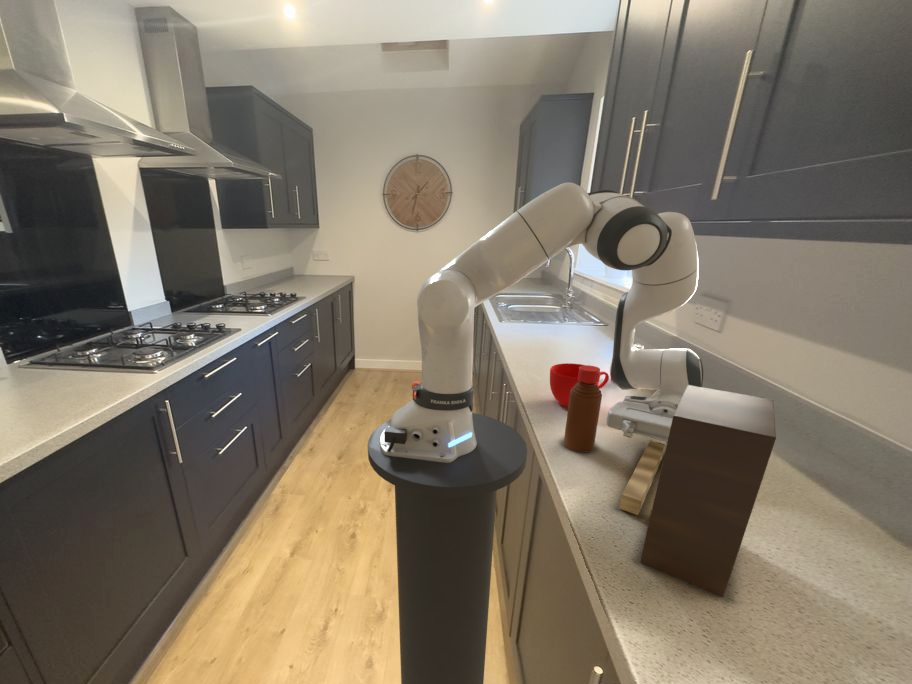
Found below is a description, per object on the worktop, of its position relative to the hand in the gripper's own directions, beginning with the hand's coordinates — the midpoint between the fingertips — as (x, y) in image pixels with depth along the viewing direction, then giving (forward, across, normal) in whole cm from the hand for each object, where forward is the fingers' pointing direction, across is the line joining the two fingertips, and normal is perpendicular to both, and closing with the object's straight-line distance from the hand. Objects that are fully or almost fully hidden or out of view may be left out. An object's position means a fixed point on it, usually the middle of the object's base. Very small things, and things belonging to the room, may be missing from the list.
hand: (653, 440), depth 81 cm
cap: (-3, +14, +11) cm, 18 cm away
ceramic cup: (-28, +23, -7) cm, 36 cm away
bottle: (-3, +14, -7) cm, 16 cm away
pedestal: (+21, -9, -7) cm, 24 cm away
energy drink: (-56, +15, -7) cm, 58 cm away
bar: (+4, 0, -7) cm, 8 cm away
